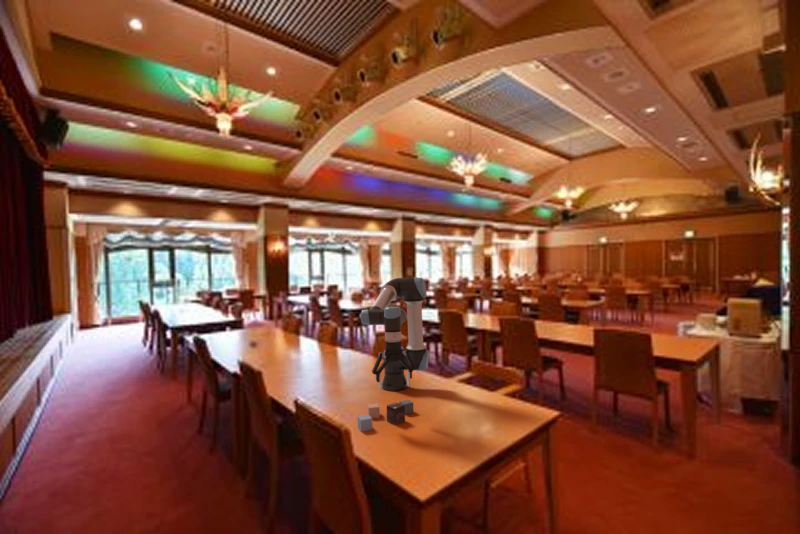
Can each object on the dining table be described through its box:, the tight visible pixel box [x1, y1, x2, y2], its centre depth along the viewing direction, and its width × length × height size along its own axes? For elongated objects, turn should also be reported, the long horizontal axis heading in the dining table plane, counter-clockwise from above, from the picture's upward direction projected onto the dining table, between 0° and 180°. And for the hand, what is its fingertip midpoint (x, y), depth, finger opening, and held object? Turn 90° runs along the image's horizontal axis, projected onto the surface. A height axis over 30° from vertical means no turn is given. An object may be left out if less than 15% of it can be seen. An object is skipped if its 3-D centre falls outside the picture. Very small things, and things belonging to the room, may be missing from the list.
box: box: [386, 402, 406, 425], centre depth 173 cm, size 6×6×7 cm
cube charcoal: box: [398, 399, 415, 416], centre depth 184 cm, size 5×5×5 cm
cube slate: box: [357, 414, 373, 433], centre depth 166 cm, size 5×5×5 cm
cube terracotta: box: [367, 403, 381, 419], centre depth 180 cm, size 5×5×5 cm
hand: (394, 387), depth 173 cm, fingers open, 13 cm apart
